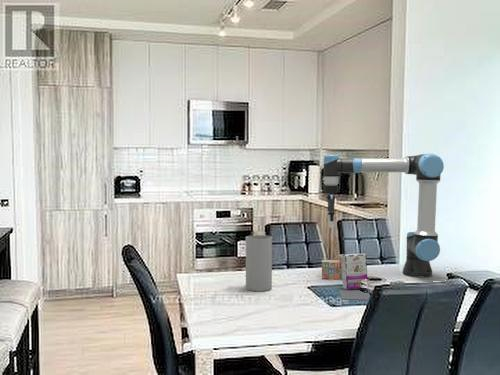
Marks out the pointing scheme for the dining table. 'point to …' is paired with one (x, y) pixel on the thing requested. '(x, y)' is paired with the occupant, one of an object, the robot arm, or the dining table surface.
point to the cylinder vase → (258, 263)
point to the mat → (353, 295)
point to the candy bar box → (353, 270)
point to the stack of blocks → (332, 269)
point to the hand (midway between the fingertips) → (331, 225)
